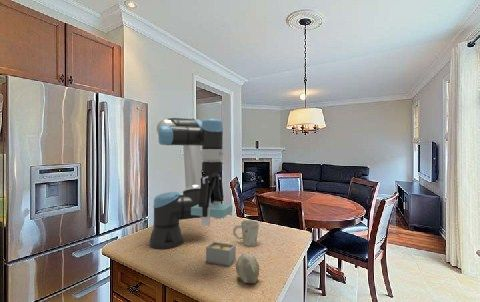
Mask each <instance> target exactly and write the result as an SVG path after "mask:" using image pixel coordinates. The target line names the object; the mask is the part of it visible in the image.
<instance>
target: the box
mask: <svg viewBox="0 0 480 302" xmlns="http://www.w3.org/2000/svg"><path fill="white" fill-rule="evenodd" d="M236 245H237V244H232V243H228V242H227V243H226V242H221V241H212V242H211V243H210V244H208V245H207V246H206V247H205V263H207V264H215V265H217V266H218V265H219V266H224V267H228V268H229V267H231V266H232V265H233V264H234V262H235V261H237V260H236V257H237V256H236V255H237V254H236V253H237V251H236V250H237V247H236Z"/></svg>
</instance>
